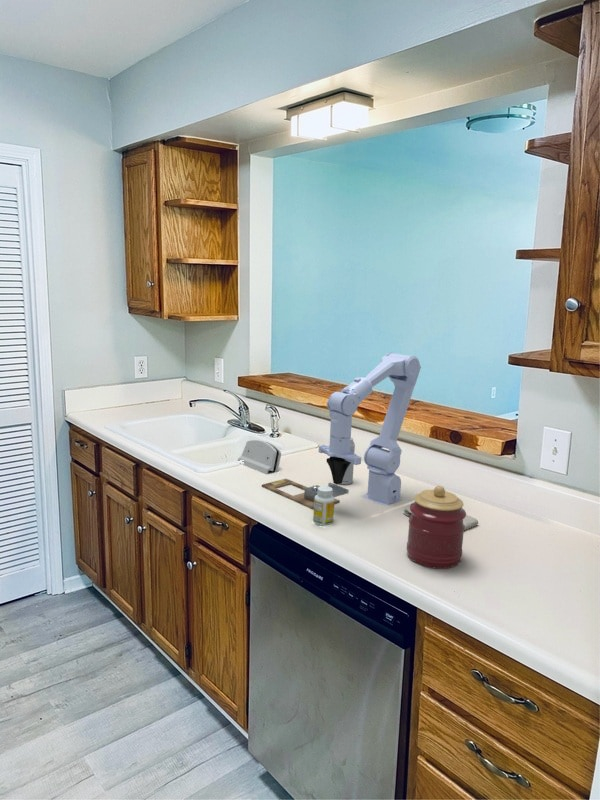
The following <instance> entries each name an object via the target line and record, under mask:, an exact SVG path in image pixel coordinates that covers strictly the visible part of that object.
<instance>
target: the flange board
mask: <svg viewBox="0 0 600 800" xmlns="http://www.w3.org/2000/svg"><path fill="white" fill-rule="evenodd" d="M288 486H293V487H295V488H298V489H300V490H302V491H304V492H305V488H309V487H308V486H306V485H303V484H300V483H298V482H296V481H293V480H291V479H289V478H282V479H279V480H275V481H271V482H267V483H266V482H265V483H263V484H261V487H262V488H264V489H266V490H268V491H270V492H273V493H275V494H277V495H279V496H281V497H283V498H286V499H289V500H290V501H293V502H294V503H298V504H299V505H302V506H304V507H306V508H308V509H311V510H313V511H314V502H312V501H309V500H307V499H305V498H304V492H302V493H301V492H300V493H298V494H295V495H292V494H290V493H287V492H285V491H284V490H281V489H280V488H284V487H288ZM339 503H341V499H337V498H336V497H334V505H337V504H339Z"/></svg>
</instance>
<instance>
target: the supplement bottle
mask: <svg viewBox="0 0 600 800" xmlns="http://www.w3.org/2000/svg"><path fill="white" fill-rule="evenodd" d="M319 486H320V485H319ZM317 493H318V494H317V495H316V496H315V498H314V510H313V519H312V520H313V523H314V524H315V525H317V526H320V527H323V526H324V525H330V524H332V523H334V514H335V504H334V498H335V497H333V496H332V493H333V489H332V488H331V487H328V485H321V486H320V487H318V490H317Z"/></svg>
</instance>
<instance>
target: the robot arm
mask: <svg viewBox="0 0 600 800" xmlns="http://www.w3.org/2000/svg"><path fill="white" fill-rule="evenodd" d="M421 366H422V365H421V364H420V361H419V358H418V357H417V356H416V355H407V354H401V353H395V352H393V351H392V352H387V353H386V354H385V355H384V356H382V357H381V359H380V363H378V364H377V365H376V367H374V368H373V369H372V370H371V371H370V372H369V373H368V374H366V376H365V377H363V376H359V377H355V378H354V379H353V381H352V382H351V383H349V384H348V385H347V386H345V387H344V388H342V390H341V391H335V392H333V393H331V395H330V396H329V398H328V400H327V401H326V407H327V409H328V410H329V411H328V413H329V418H330V430H329V445H325V444H322V445H318V453H320V454H325V455H327V456H329V457H328V458H326V464H328V467H329V470H330V472H331V477H332V478H331V479H332V481H333V482H332V484H335V485H341V483H342V481H343V477H344V475H345V472H346V470H347V468H348V466H349V465H350V463H354V465H355V466H359V465H361V464H362V456H360V455H357V454H355V452H354V453H352V452H351V451H350V441H351V438H352V437H351V436H352V421H353V415H354V414H355V413H356V411H357V410H358V407H359V406H360V404H361V402H362V401H364V400H365V399H366V398H367V397H369V396H370V395H372V393H373V388H374V387H376V386H377V385H378V384H379V383H381V382H382V381H384V380H386V378H389V380H390V381H391V382H392V383H393V385H394V390H393V392H392V395H391V399H390V401H389V405H388V407H387V411H386V414H385V417H384V420H383V423H382V426H381V430H380V433H379V436H377V437H375V438H374V439H372V440H371V441H370V443H369V445H368V447H367V448H366V450H365V451H364V455H363V460H364V464H365V465H366V466H367V469H368V479H367V481H368V483H367V485H368V486H367V493H366V494H363V495H361V497H362V498H365V499H367V500H370V501H372V502H375V503H377V504H380V505H383V506H388V505H391V504H394V503H397V502H400V501H402V499H401V490H402V489H401V487H402V480H401V477H400V476H398V475H397V474H396V471H397V470H398V469H399V468H400V465H401V455H402V452H403V451H402V448H401V447H400V446H399V443H398V442H397V441H398V438H399V435H400V432H401V429H402V426H403V422H404V421H405V420H404V419H405V417H406V414H407V410H408V408H409V404H410V401H411V398H412V395H413V392H414V388H415V386H416V384H417V380H418V378H419V374H420V372H421V369H422V367H421Z"/></svg>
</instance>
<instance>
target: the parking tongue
mask: <svg viewBox="0 0 600 800" xmlns="http://www.w3.org/2000/svg"><path fill="white" fill-rule="evenodd" d="M327 486H328V487H331V488H332V489H333V493H332V496H333V497H334V498H336V497H340V496H343V495H346V494H349V491H350V490H349V489H348V488H345V487H343V486H340V485H339V484H334V483H333V482H328V485H327Z"/></svg>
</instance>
